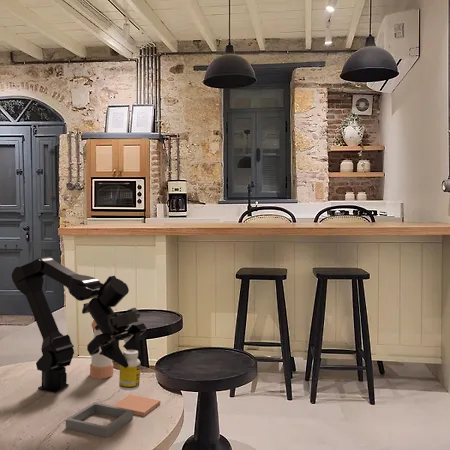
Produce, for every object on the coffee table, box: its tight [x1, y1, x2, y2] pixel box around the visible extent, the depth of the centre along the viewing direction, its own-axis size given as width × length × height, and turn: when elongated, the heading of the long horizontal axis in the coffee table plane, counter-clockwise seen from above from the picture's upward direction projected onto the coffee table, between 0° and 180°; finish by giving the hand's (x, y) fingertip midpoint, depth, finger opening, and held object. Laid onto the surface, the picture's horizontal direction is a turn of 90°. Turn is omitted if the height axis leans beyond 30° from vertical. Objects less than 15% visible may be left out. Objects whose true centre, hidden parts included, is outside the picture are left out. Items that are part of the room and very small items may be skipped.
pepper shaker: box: [89, 320, 114, 380], centre depth 168 cm, size 7×7×19 cm
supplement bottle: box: [118, 349, 141, 391], centre depth 141 cm, size 5×5×10 cm
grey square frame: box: [65, 401, 134, 438], centre depth 134 cm, size 12×12×2 cm
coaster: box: [112, 394, 161, 417], centre depth 145 cm, size 10×9×1 cm
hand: (134, 364), depth 140 cm, fingers closed on supplement bottle, 5 cm apart
